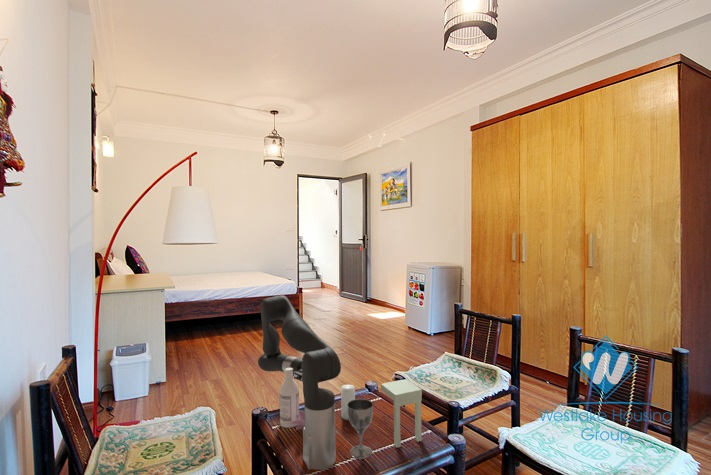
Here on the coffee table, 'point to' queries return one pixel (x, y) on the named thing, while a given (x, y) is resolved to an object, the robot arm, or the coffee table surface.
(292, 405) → the bath foam
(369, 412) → the wine glass
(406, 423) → the coffee table surface
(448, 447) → the coffee table surface
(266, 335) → the robot arm
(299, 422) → the lily
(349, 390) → the white plastic cylinder
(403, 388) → the small green stool
